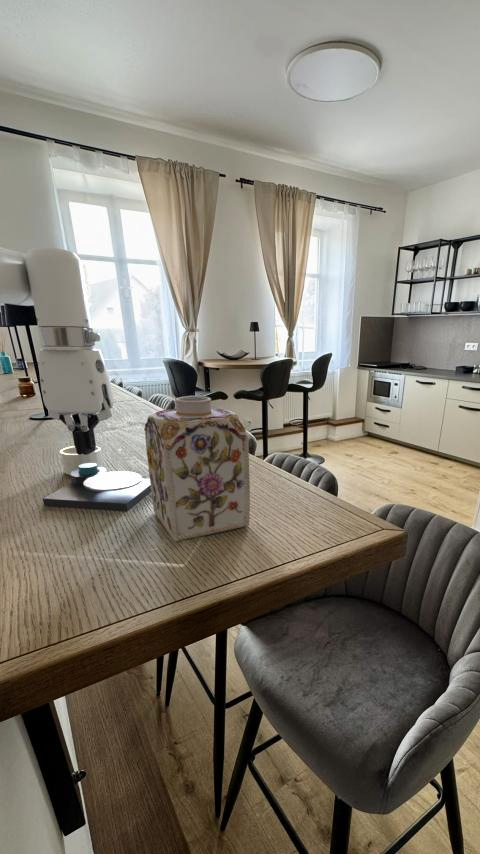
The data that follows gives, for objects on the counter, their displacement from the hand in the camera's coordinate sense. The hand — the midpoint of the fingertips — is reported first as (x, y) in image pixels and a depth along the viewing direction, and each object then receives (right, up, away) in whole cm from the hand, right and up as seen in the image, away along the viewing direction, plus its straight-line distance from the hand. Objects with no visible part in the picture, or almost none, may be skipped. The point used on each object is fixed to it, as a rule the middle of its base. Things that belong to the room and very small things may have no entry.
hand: (86, 452), depth 72 cm
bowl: (-6, -3, +11) cm, 13 cm away
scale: (+4, -8, -1) cm, 9 cm away
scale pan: (+6, -5, -4) cm, 9 cm away
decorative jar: (+22, -12, -10) cm, 26 cm away
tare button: (0, -4, +1) cm, 4 cm away
